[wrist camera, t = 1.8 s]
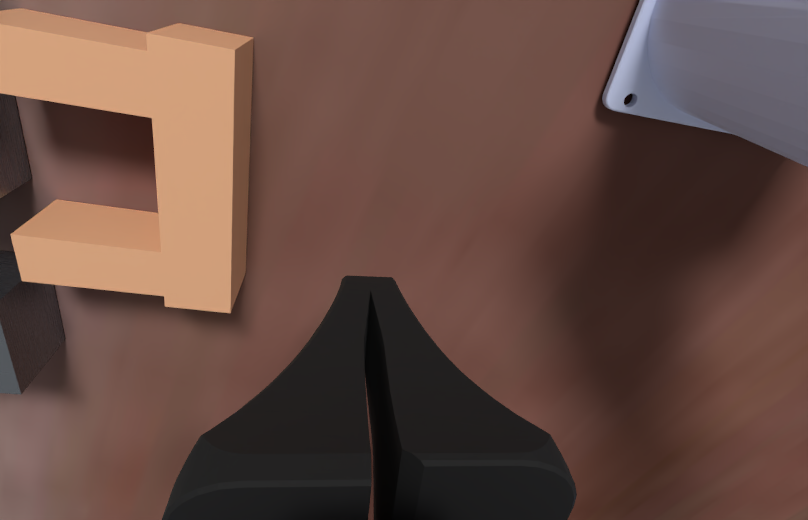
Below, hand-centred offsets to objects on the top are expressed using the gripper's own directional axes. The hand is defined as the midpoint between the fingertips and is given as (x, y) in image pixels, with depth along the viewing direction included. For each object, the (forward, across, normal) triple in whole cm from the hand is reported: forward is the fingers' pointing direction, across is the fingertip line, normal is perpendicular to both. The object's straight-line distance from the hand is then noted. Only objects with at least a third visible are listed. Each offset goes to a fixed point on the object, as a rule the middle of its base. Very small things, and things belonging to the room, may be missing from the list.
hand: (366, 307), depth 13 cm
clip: (+8, +8, -1) cm, 12 cm away
